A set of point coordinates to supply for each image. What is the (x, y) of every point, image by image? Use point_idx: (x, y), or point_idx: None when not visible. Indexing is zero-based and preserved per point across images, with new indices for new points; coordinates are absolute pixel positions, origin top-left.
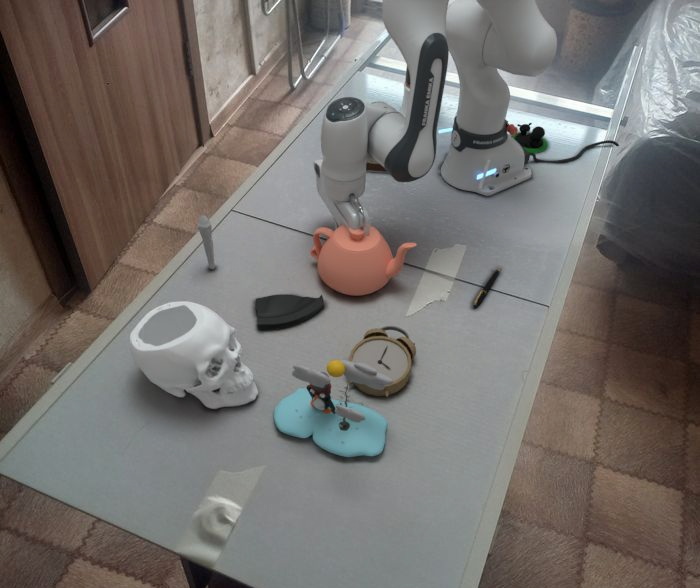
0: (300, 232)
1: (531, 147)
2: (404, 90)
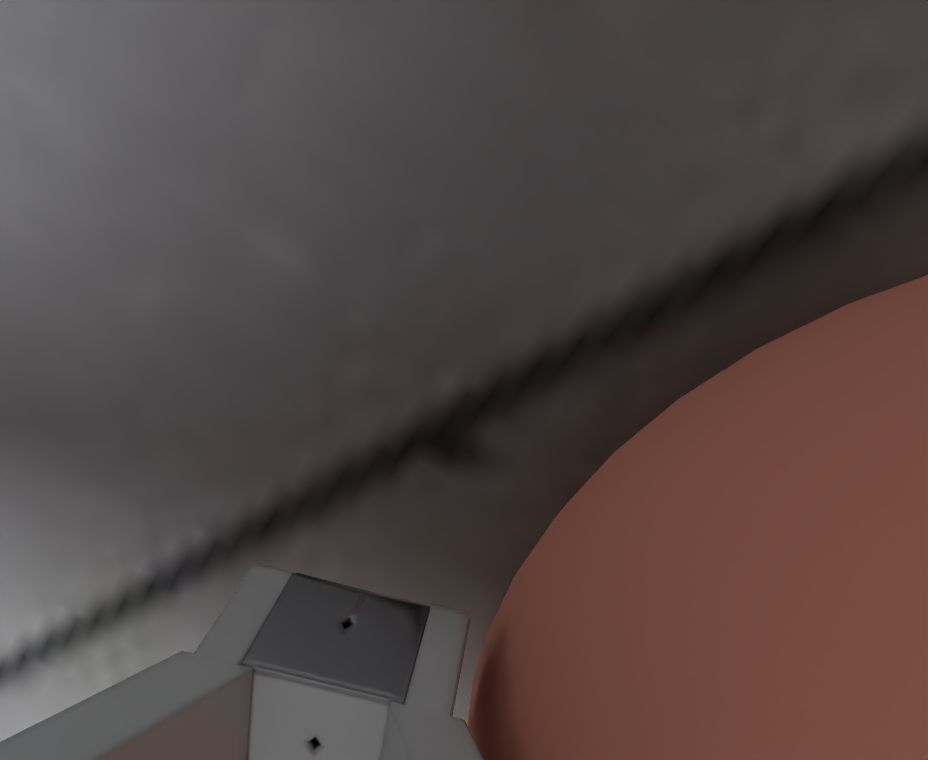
0: (12, 675)
1: None
2: None
